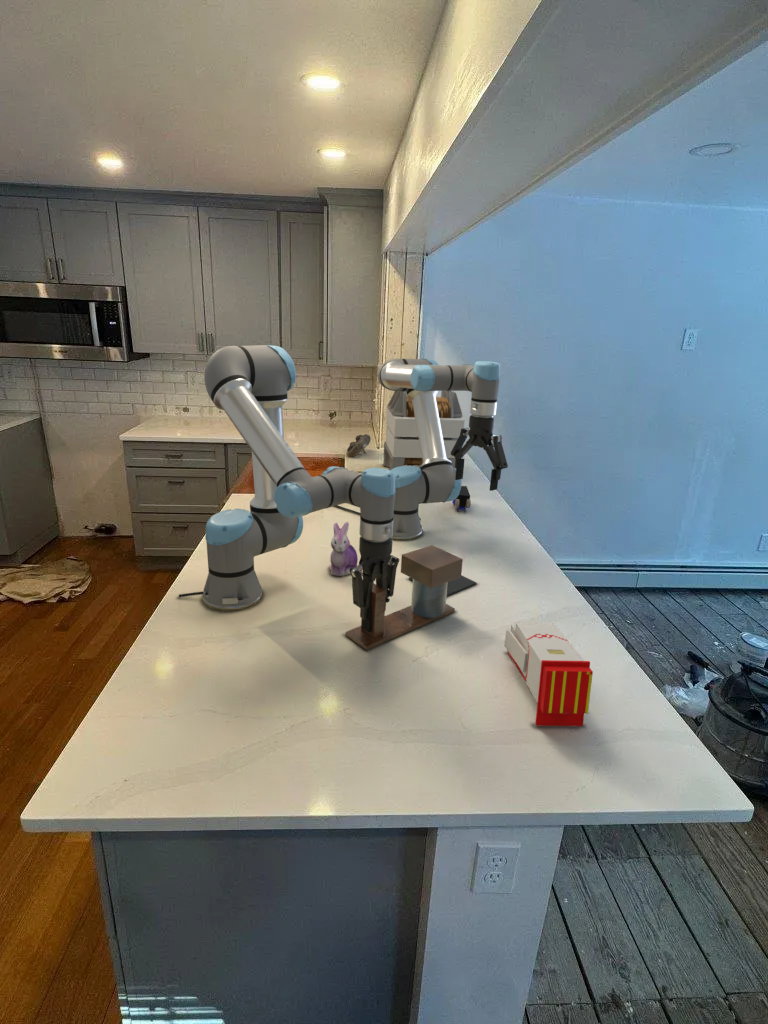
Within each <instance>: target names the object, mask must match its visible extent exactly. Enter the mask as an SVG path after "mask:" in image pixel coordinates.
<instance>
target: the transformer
mask: <svg viewBox="0 0 768 1024" xmlns="http://www.w3.org/2000/svg"><path fill="white" fill-rule="evenodd" d="M440 393H441V394H440V396H436V403H437V408H438V414H439V419H440V425H441V430H442V436H443V441H444V447H445V452H446V458H447V459H448V460H450V461H451V462H452V467H453V468H455V457H454V456H452V455H451V451H452V449H453V447H454V445H455V444H456V442H457V440H458V438H459V436H460V431H461V429H462V428H465V419H464V418H463V411H462V408H461V405H460V402H459V398H458V395H457V392H456V391H440ZM385 414H386V415H385V423H386V428H385V438H384V442H383V466H384V467H388V468H389V470H391V469H393V468H396V467H400V466H416V467H420V466H421V465H422V463H423V460H422V455H421V449H420V443H419V437H418V431H417V425H416V420H415V414H414V408H413V402H412V401H411V400H409V399H408V397H407V392H405V391H393V394H392V395H391V398H390V400H389V402H388V404H387V405H386V413H385ZM461 459H462V458H461Z"/></svg>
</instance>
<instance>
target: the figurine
mask: <svg viewBox="0 0 768 1024" xmlns="http://www.w3.org/2000/svg"><path fill="white" fill-rule="evenodd" d="M349 526H350V523H349V521H346V522H345V523H343V525H342V527H341V528H340V526H339V524H338V522H334V523H333V537H332V538H331V541H330V547H331V549H332V551H331V553H330V557H329V559H330V568H329V570H330V574H331V575H333V576H337V577H340V576H341V577H344V576H346V575H351V574H350V572H349V570H350V568H355V567H357V566H358V563H359V561H358V553H357V551H356V549H355V547H354V546H353V545H352V544H351V541H350V539H349V537H348V531H349Z"/></svg>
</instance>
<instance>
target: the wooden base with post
mask: <svg viewBox="0 0 768 1024" xmlns="http://www.w3.org/2000/svg"><path fill="white" fill-rule="evenodd" d="M447 585H448V582H446V583H444V584H441V585H438V586H436V587H433V588H429V587H427V586H425V585H423V584H422V583H420V582H418V581H416V580H414V579H413V581H412V586H411V598H410V599H411V601H410V605H408V606H407V607H404V608H402V609H399V610H396V611H394V612H391V613H389V614H387V615H386V614H385V613H386V610H385V595H386V590H385V589H383V588H381V587H379V586H378V585H376V583H374V582H373V588H372V594H371V600H370V606H371V607H372V624H371V632H367V631H366V630H365V629H363V628H362V618H361V617H360V619H361V620H360V626H357V627H354V628H352V629H349V630H347V631H345V636H346V637H347V638H349V639H350V640H351V641H352V642H354V643H355V644H357V645H358V646H359V647H361V648H362V649H364V650H365V651H368V650H371V649H372V648H376V647H377V646H380V645H382V644H384V643H386V642H388V641H390V640H393V639H395V638H398V637H400V636H403V635H404V634H406V633H407V634H408V633H410V632H411V631H413V630H416V629H418V628H421V627H423V626H425V625H427V624H430V623H432V622H434V621H437V620H439V619H441V618H443V617H446V616H447V615H451V614H453V613H454V612H455V607H453V606H452V605H449V604H448V603H447V597H448V596H447ZM446 596H447V597H446Z"/></svg>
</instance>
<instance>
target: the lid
mask: <svg viewBox="0 0 768 1024" xmlns="http://www.w3.org/2000/svg"><path fill="white" fill-rule="evenodd" d="M463 561H464V558H461V557H460V556H458V555H455V554H452V553H450V552H448V551H446V550H444V549H442V548H440V547H437V546H435V545H433V544H430V545H427V546H424V547H422V548H418V549H415V550H412V551H409V552H406V553H403V554H401V559H400V573H401V574H403V575H405V576H406V577H408V578H412V579H414V580H416V581H418V582H420V583H422V584H423V585H425V586H427V587H429V588H433V587H436V586H438V585H441V584H444V583H446V582H449V581H451V580H454V579H456V578H459V577H461V575H462V571H463Z"/></svg>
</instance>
